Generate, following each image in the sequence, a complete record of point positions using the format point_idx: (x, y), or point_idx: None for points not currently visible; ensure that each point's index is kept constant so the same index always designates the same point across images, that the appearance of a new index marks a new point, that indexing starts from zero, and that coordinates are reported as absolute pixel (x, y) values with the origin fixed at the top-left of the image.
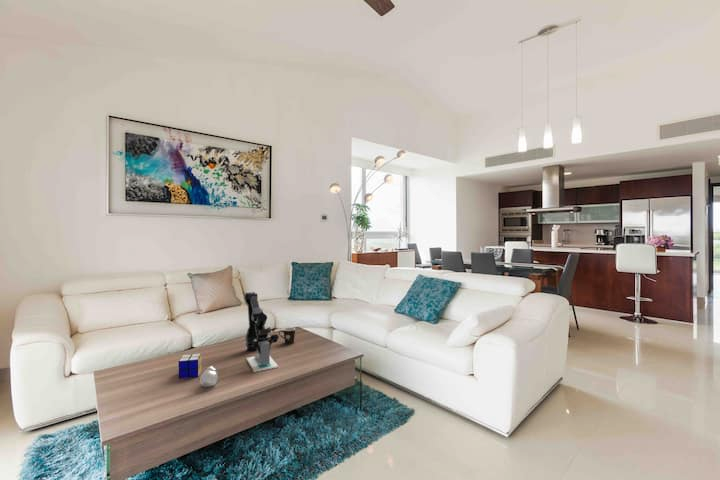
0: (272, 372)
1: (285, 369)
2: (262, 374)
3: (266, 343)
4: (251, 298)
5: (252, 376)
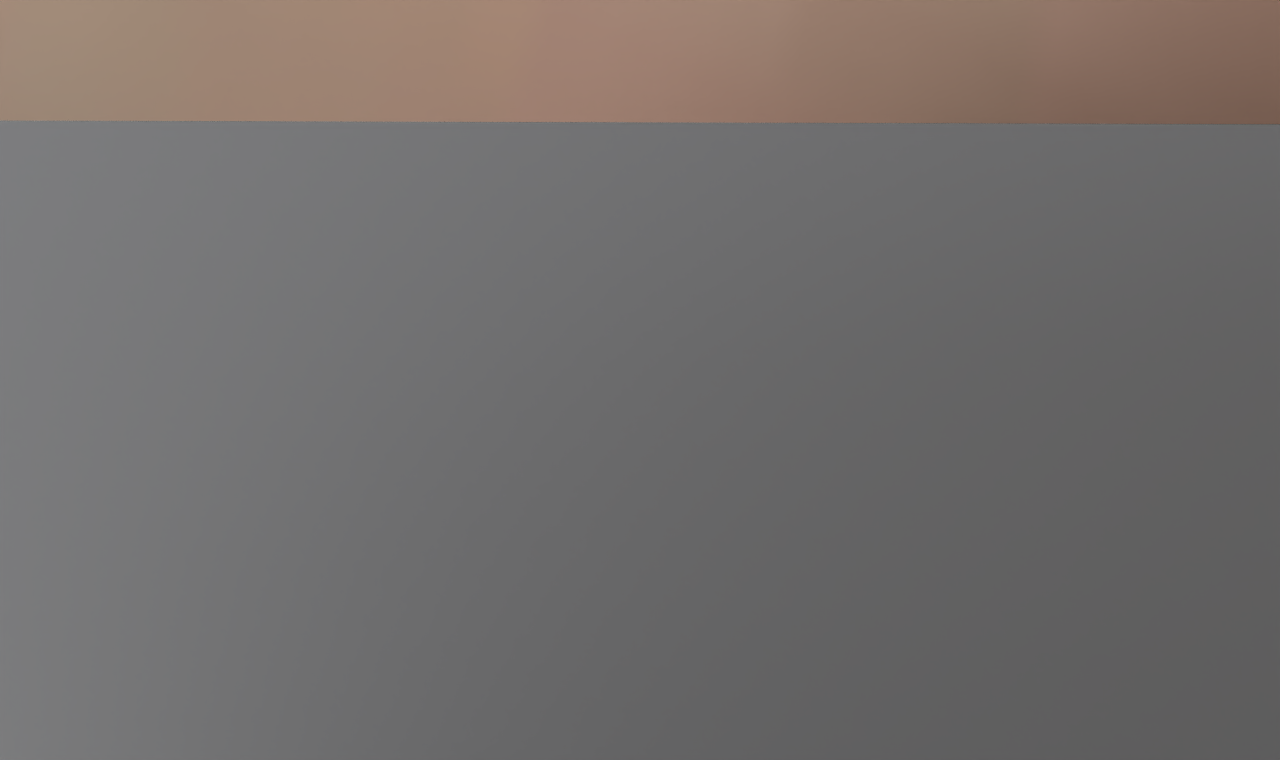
0: (514, 46)
1: (66, 78)
2: (837, 45)
3: (261, 318)
4: None
5: (1151, 43)
